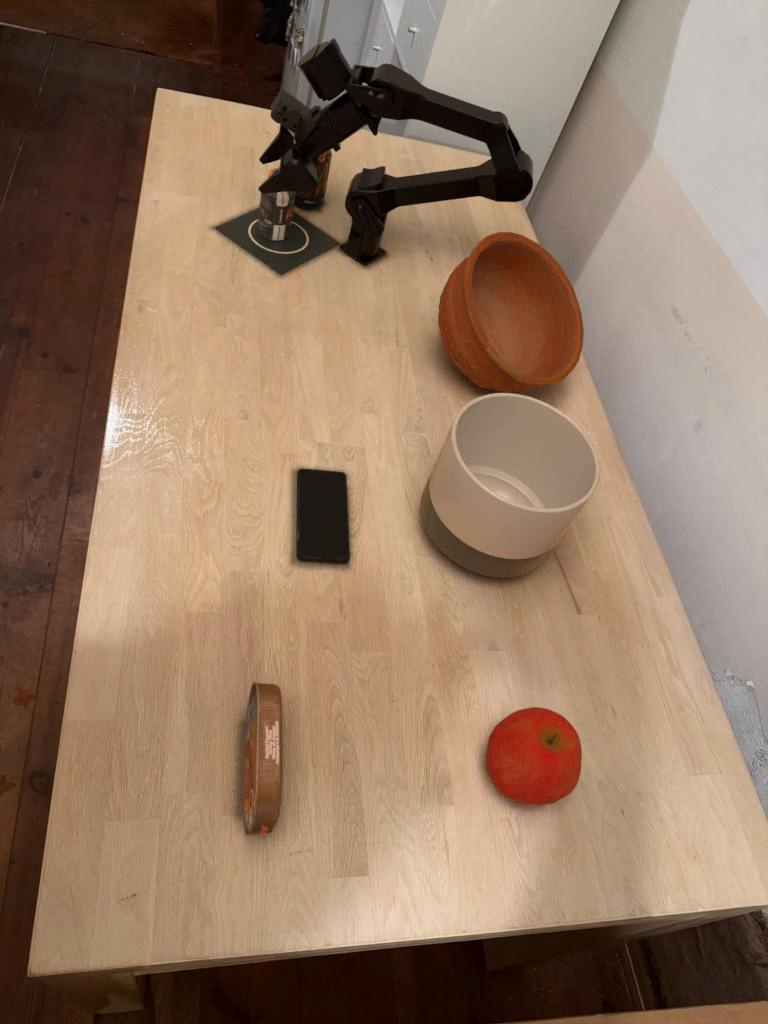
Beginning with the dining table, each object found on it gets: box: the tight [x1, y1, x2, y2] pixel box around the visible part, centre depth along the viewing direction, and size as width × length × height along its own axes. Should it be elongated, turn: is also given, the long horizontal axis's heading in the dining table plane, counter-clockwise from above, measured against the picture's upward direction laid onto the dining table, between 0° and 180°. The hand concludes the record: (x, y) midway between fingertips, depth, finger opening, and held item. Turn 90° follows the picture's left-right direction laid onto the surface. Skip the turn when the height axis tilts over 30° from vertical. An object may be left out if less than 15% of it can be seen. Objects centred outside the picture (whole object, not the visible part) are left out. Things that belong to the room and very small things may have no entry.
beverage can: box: [294, 149, 333, 211], centre depth 140 cm, size 7×7×12 cm
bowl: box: [437, 231, 585, 393], centre depth 121 cm, size 25×25×15 cm
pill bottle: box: [258, 167, 296, 241], centre depth 131 cm, size 6×6×11 cm
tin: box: [242, 681, 283, 836], centre depth 75 cm, size 15×3×8 cm, turn 5°
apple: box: [485, 706, 583, 806], centre depth 81 cm, size 10×10×10 cm
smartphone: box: [296, 468, 351, 564], centre depth 100 cm, size 7×1×15 cm
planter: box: [420, 392, 601, 578], centre depth 98 cm, size 19×19×18 cm
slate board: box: [214, 207, 341, 276], centre depth 135 cm, size 16×16×1 cm
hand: (260, 176), depth 127 cm, fingers open, 9 cm apart
